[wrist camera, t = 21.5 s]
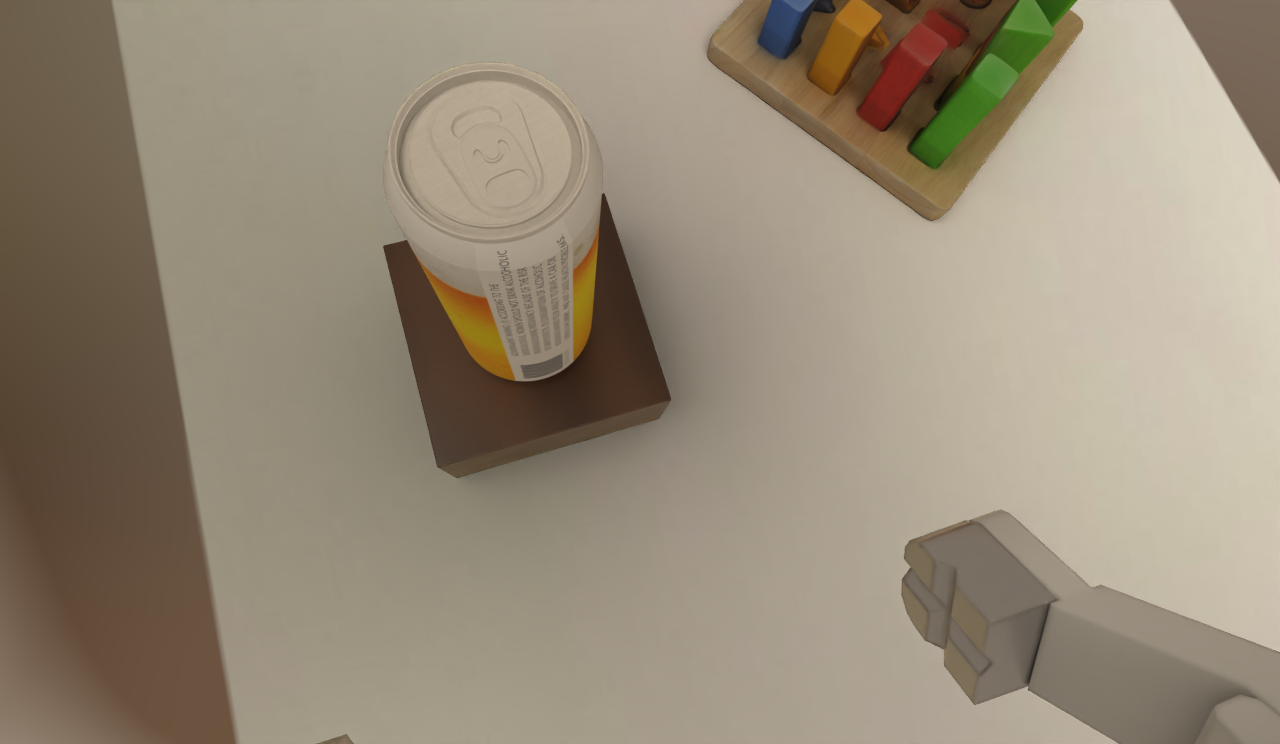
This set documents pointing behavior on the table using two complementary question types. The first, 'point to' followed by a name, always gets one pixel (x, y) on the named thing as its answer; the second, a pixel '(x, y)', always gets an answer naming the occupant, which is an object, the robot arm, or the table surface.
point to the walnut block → (530, 410)
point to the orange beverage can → (501, 212)
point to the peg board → (899, 79)
